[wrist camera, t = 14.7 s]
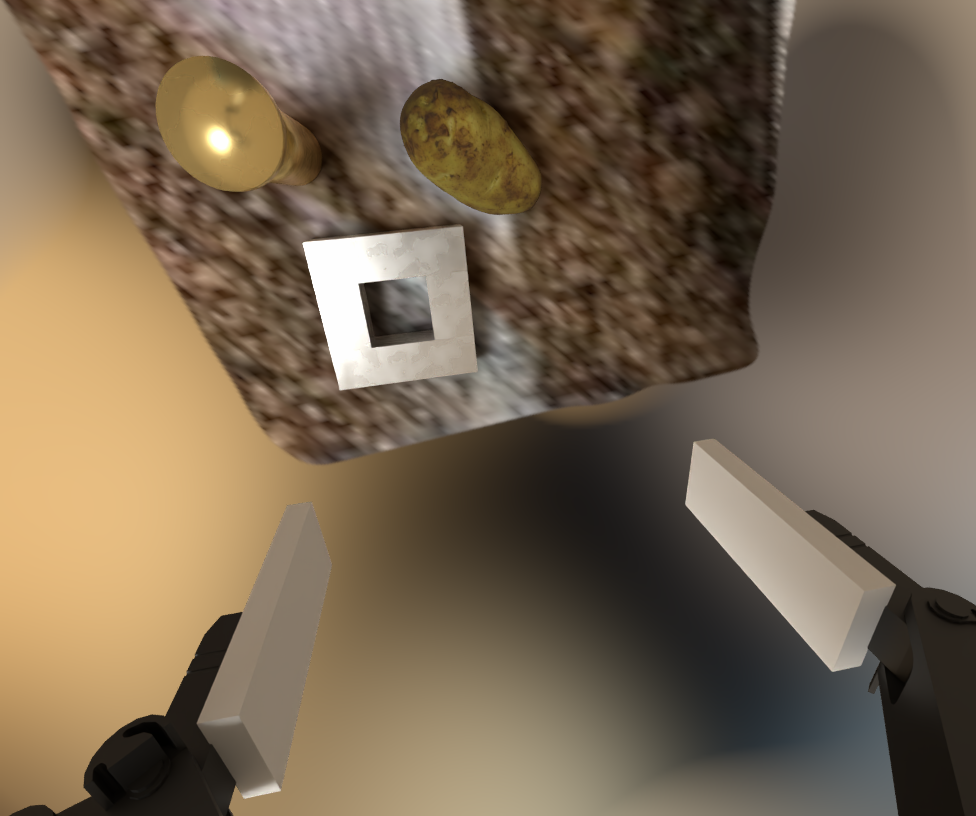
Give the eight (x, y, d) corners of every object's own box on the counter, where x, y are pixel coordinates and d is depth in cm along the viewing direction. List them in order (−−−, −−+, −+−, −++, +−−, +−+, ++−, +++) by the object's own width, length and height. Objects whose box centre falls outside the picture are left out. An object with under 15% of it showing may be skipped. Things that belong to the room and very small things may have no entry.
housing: (312, 238, 42) (302, 242, 39) (458, 223, 43) (462, 226, 40) (345, 375, 48) (340, 390, 45) (473, 359, 50) (477, 371, 46)
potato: (480, 249, 45) (492, 258, 38) (386, 133, 40) (379, 119, 32) (544, 189, 43) (570, 188, 36) (455, 61, 38) (465, 30, 31)
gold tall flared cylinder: (242, 113, 37) (135, 59, 23) (320, 108, 38) (262, 52, 24) (265, 197, 40) (182, 196, 26) (337, 191, 41) (295, 186, 26)
